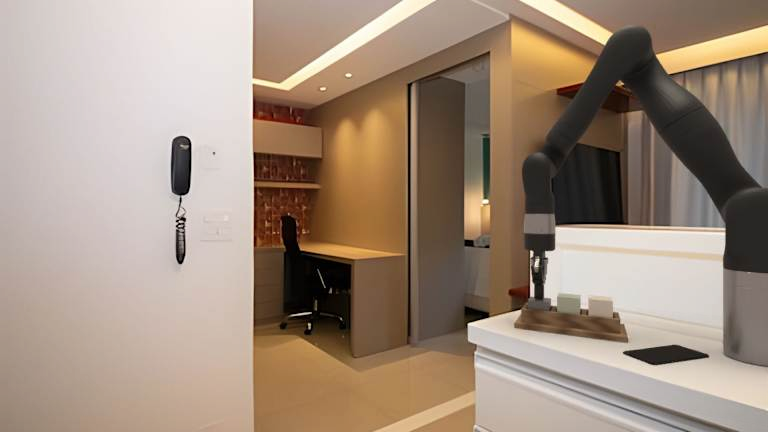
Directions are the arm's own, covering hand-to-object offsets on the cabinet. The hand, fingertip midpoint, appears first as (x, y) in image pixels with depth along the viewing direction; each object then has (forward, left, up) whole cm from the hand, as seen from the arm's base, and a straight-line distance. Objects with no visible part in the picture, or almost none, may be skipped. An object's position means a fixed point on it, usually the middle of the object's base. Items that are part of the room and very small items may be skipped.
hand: (539, 299), depth 99 cm
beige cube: (-14, 0, -3) cm, 14 cm away
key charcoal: (0, 0, -5) cm, 5 cm away
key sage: (-7, 0, -3) cm, 8 cm away
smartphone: (-25, +11, -7) cm, 28 cm away
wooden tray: (-7, 0, -7) cm, 9 cm away
